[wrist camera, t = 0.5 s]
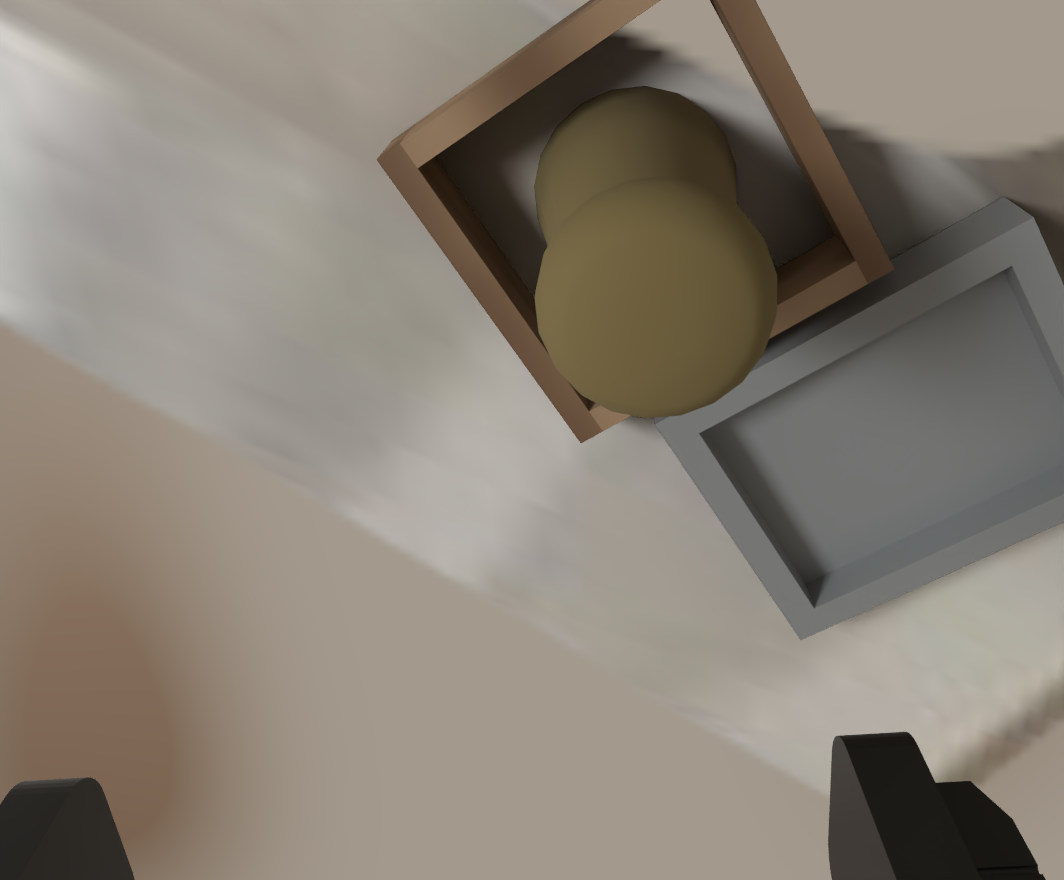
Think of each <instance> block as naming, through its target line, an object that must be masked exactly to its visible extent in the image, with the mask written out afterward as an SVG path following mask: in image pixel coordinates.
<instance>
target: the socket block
mask: <svg viewBox="0 0 1064 880" xmlns="http://www.w3.org/2000/svg"><path fill="white" fill-rule="evenodd" d="M659 1H660V0H590V1H588V2H587V3H586V4H584V5H583V6H581V7H580V8H578V9H577V10H576V11H574V12H573V13H571V14H570V15H569V16H567V17H566V18H564V19H563V20H562V21H560V22H559V23H557V24H556V25H555V26H553V27H552V28H550V29H549V30H547V31H546V32H545V33H543V34H542V35H540V36H539V37H538V38H536V39H535V40H533V41H532V42H531V43H529V44H528V45H526V46H525V47H524V48H522V49H521V50H519V51H518V52H516V53H515V54H514V55H512V56H511V57H509V58H508V59H507V60H505V61H504V62H502V63H501V64H500V65H498V66H497V67H495V68H494V69H492V70H491V71H490V72H488V73H487V74H485V75H484V76H483V77H481V78H480V79H478V80H477V81H476V82H474V83H473V84H471V85H470V86H469V87H467V88H466V89H464V90H463V91H461V92H460V93H459V94H457V95H456V96H454V97H453V98H452V99H450V100H449V101H447V102H446V103H445V104H443V105H442V106H440V107H439V108H438V109H436V110H435V111H433V112H432V113H430V114H429V115H428V116H426V117H425V118H423V119H422V120H421V121H419V122H418V123H416V124H415V125H414V126H412V127H411V128H409V129H408V130H406V131H405V132H404V133H402V134H401V135H399V136H398V137H397V138H395V139H394V140H392V141H391V143H390V144H389V145H388V146H387V148H386V149H385V150H384V151H383V153H382V154H381V155H380V156H379V157H378V159H377V161H378V162H379V164H380V165H381V167H382V168H383V169H384V171H385V172H386V173H387V175H388V176H389V178H390V179H391V180H392V182H393V183H394V185H395V186H396V187H397V189H398V190H399V191H400V193H401V194H402V196H403V197H404V198H405V200H406V201H407V203H408V204H409V205H410V207H411V208H412V210H413V211H414V212H415V214H416V215H417V216H418V218H419V219H420V221H421V222H422V223H423V225H424V226H425V228H426V229H427V230H428V232H429V233H430V234H431V236H432V237H433V239H434V240H435V241H436V243H437V244H438V246H439V247H440V248H441V250H442V251H443V253H444V254H445V255H446V257H447V258H448V259H449V261H450V262H451V264H452V265H453V266H454V268H455V269H456V271H457V272H458V273H459V275H460V276H461V277H462V279H463V280H464V282H465V283H466V284H467V286H468V287H469V289H470V290H471V291H472V293H473V294H474V296H475V297H476V298H477V300H478V301H479V302H480V304H481V305H482V307H483V308H484V309H485V311H486V312H487V314H488V315H489V316H490V318H491V319H492V321H493V322H494V323H495V325H496V326H497V327H498V329H499V330H500V332H501V333H502V334H503V336H504V337H505V339H506V340H507V341H508V343H509V344H510V345H511V347H512V348H513V350H514V351H515V352H516V354H517V355H518V357H519V358H520V359H521V361H522V362H523V364H524V365H525V366H526V368H527V369H528V370H529V372H530V373H531V375H532V376H533V377H534V379H535V380H536V382H537V383H538V384H539V386H540V387H541V388H542V390H543V391H544V393H545V394H546V395H547V397H548V398H549V400H550V401H551V402H552V404H553V405H554V407H555V408H556V409H557V411H558V412H559V413H560V415H561V416H562V418H563V419H564V420H565V422H566V423H567V425H568V426H569V427H570V429H571V430H572V432H573V433H574V434H575V436H576V437H577V438H578V440H579V441H580V443H583V442H584V441H586V440H588V439H590V438H592V437H593V436H595V435H597V434H599V433H601V432H602V431H604V430H606V429H608V428H610V427H611V426H613V425H615V424H617V423H619V422H620V421H622V420H624V419H626V418H628V417H629V416H631V415H627V414H622V413H617V412H612V411H610V410H608V409H606V408H604V407H602V406H601V405H599V404H597V403H595V402H593V401H591V400H589V399H588V398H586V397H584V396H582V395H581V394H580V393H579V392H578V391H577V390H576V389H575V388H574V387H573V386H572V385H571V384H570V383H569V382H568V381H567V380H566V379H565V378H564V377H563V376H562V375H561V374H560V373H559V372H558V370H557V368H556V367H555V365H554V364H553V361H552V359H551V357H550V355H549V353H548V351H547V349H546V347H545V345H544V343H543V341H542V339H541V336H540V334H539V332H538V323H537V314H536V306H535V299H534V298H533V296H532V295H531V294H530V292H529V291H528V289H527V288H526V286H525V285H524V283H523V282H522V281H521V279H520V278H519V276H518V275H517V273H516V272H515V270H514V269H513V268H512V266H511V265H510V263H509V262H508V260H507V259H506V258H505V256H504V255H503V253H502V252H501V250H500V249H499V247H498V246H497V245H496V243H495V242H494V240H493V239H492V237H491V236H490V234H489V233H488V232H487V230H486V229H485V227H484V226H483V224H482V223H481V221H480V220H479V219H478V217H477V216H476V214H475V213H474V211H473V210H472V209H471V207H470V206H469V204H468V203H467V201H466V200H465V198H464V197H463V196H462V194H461V193H460V191H459V190H458V188H457V187H456V185H455V184H454V183H453V181H452V180H451V178H450V177H449V175H448V174H447V172H446V171H445V170H444V168H443V167H442V165H441V164H440V162H439V161H438V160H437V158H436V157H435V156H436V155H438V154H439V153H440V152H442V151H443V150H445V149H446V148H448V147H449V146H451V145H452V144H453V143H455V142H456V141H458V140H459V139H461V138H462V137H464V136H465V135H466V134H468V133H469V132H471V131H472V130H474V129H475V128H477V127H478V126H479V125H481V124H482V123H484V122H485V121H487V120H488V119H490V118H491V117H492V116H494V115H495V114H497V113H498V112H500V111H501V110H503V109H504V108H505V107H507V106H508V105H510V104H511V103H513V102H514V101H516V100H517V99H518V98H520V97H521V96H523V95H524V94H526V93H527V92H529V91H530V90H531V89H533V88H534V87H536V86H537V85H539V84H540V83H542V82H543V81H544V80H546V79H547V78H549V77H550V76H552V75H553V74H555V73H556V72H557V71H559V70H560V69H562V68H563V67H565V66H566V65H568V64H569V63H570V62H572V61H573V60H575V59H576V58H578V57H579V56H581V55H582V54H583V53H585V52H586V51H588V50H589V49H591V48H592V47H594V46H595V45H596V44H598V43H599V42H601V41H602V40H604V39H605V38H607V37H608V36H610V35H611V34H612V33H614V32H615V31H617V30H618V29H620V28H621V27H623V26H624V25H625V24H627V23H628V22H630V21H631V20H633V19H634V18H636V17H637V16H638V15H640V14H641V13H643V12H644V11H646V10H647V9H648V8H650V7H651V6H653V5H654V4H656V3H657V2H659ZM710 1H711V3H712V5H713V7H714V9H715V11H716V12H717V14H718V16H719V18H720V20H721V22H722V24H723V25H724V27H725V29H726V31H727V33H728V35H729V37H730V38H731V40H732V42H733V44H734V46H735V48H736V49H737V51H738V53H739V55H740V57H741V59H742V61H743V63H744V65H745V66H746V68H747V70H748V72H749V74H750V76H751V78H752V79H753V81H754V83H755V85H756V87H757V89H758V91H759V93H760V94H761V96H762V98H763V100H764V102H765V104H766V106H767V108H768V109H769V111H770V113H771V115H772V117H773V119H774V121H775V122H776V124H777V126H778V128H779V130H780V132H781V134H782V136H783V137H784V139H785V141H786V143H787V145H788V147H789V149H790V150H791V152H792V154H793V156H794V158H795V160H796V162H797V164H798V165H799V167H800V169H801V171H802V173H803V175H804V177H805V178H806V180H807V182H808V184H809V186H810V188H811V190H812V191H813V193H814V195H815V197H816V199H817V201H818V203H819V205H820V206H821V208H822V210H823V212H824V214H825V216H826V218H827V219H828V221H829V223H830V225H831V227H832V229H833V231H834V233H835V234H836V235H835V236H833V237H832V238H830V239H828V240H826V241H825V242H823V243H821V244H819V245H818V246H816V247H814V248H812V249H811V250H809V251H807V252H806V253H804V254H802V255H800V256H799V257H797V258H795V259H793V260H792V261H790V262H788V263H786V264H785V265H783V266H781V267H780V268H778V269H776V273H777V314H776V319H775V323H774V326H773V329H772V331H771V334H770V337H769V339H770V338H772V337H774V336H775V335H777V334H779V333H781V332H783V331H784V330H786V329H788V328H790V327H792V326H793V325H795V324H797V323H799V322H801V321H802V320H804V319H806V318H808V317H810V316H811V315H813V314H815V313H817V312H819V311H820V310H822V309H824V308H826V307H828V306H829V305H831V304H833V303H835V302H837V301H838V300H840V299H842V298H844V297H846V296H847V295H849V294H851V293H853V292H855V291H856V290H858V289H860V288H862V287H864V286H865V285H867V284H869V283H871V282H873V281H874V280H876V279H878V278H880V277H882V276H883V275H885V274H887V273H889V272H891V271H892V270H894V267H893V265H892V263H891V261H890V259H889V257H888V256H887V254H886V252H885V250H884V248H883V246H882V244H881V242H880V240H879V238H878V236H877V234H876V232H875V230H874V228H873V227H872V225H871V223H870V221H869V219H868V217H867V215H866V213H865V211H864V209H863V207H862V205H861V203H860V201H859V199H858V198H857V196H856V194H855V192H854V190H853V188H852V186H851V184H850V182H849V180H848V178H847V176H846V174H845V172H844V170H843V169H842V167H841V165H840V163H839V161H838V159H837V157H836V155H835V153H834V151H833V149H832V147H831V145H830V143H829V141H828V140H827V138H826V136H825V134H824V132H823V130H822V128H821V126H820V124H819V122H818V120H817V118H816V116H815V114H814V113H813V111H812V109H811V107H810V105H809V103H808V101H807V99H806V97H805V95H804V93H803V91H802V89H801V87H800V85H799V84H798V82H797V80H796V78H795V76H794V74H793V72H792V70H791V68H790V66H789V64H788V62H787V60H786V58H785V56H784V55H783V53H782V51H781V49H780V47H779V45H778V43H777V41H776V39H775V37H774V35H773V33H772V31H771V30H770V28H769V26H768V24H767V22H766V20H765V18H764V16H763V14H762V12H761V10H760V8H759V6H758V4H757V2H756V0H710Z"/></svg>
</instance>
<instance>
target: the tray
mask: <svg viewBox="0 0 1064 880" xmlns="http://www.w3.org/2000/svg"><path fill="white" fill-rule="evenodd" d="M890 261H891V263H892V265H893V267H894V270H892V271H891V272H889V273H887V274H885V275H883V276H882V277H880V278H878V279H876V280H874V281H873V282H871V283H869V284H867V285H865V286H864V287H862V288H860V289H858V290H856V291H855V292H853V293H851V294H849V295H847V296H846V297H844V298H842V299H840V300H838V301H837V302H835V303H833V304H831V305H829V306H828V307H826V308H824V309H822V310H820V311H819V312H817V313H815V314H813V315H811V316H810V317H808V318H806V319H804V320H802V321H801V322H799V323H797V324H795V325H793V326H792V327H790V328H788V329H786V330H784V331H783V332H781V333H779V334H777V335H775V336H774V337H772V338H770V339H769V340H768V343H767V346H766V349H765V352H764V354H763V355H762V357H761V358H760V359H759V361H758V362H757V363H756V365H755V366H754V367H753V369H752V370H751V371H750V373H749V374H748V376H747V377H746V378H745V380H744V381H743V382H742V383H741V384H739V385H738V386H737V387H735V388H734V389H733V390H731V391H730V392H728V393H727V394H726V395H724V396H723V397H722V398H720V399H719V400H718V401H716V402H715V403H713V404H710V405H708V406H705V407H702V408H700V409H697V410H694V411H692V412H689V413H686V414H684V415H681V416H669V417H656V418H654V423H655V426H656V427H657V429H658V430H659V432H660V433H661V435H662V436H663V438H664V439H665V441H666V442H667V443H668V445H669V446H670V448H671V449H672V451H673V452H674V454H675V455H676V457H677V458H678V460H679V461H680V463H681V464H682V466H683V467H684V469H685V470H686V472H687V473H688V474H689V476H690V477H691V479H692V480H693V482H694V483H695V485H696V486H697V488H698V489H699V491H700V492H701V494H702V495H703V497H704V498H705V500H706V501H707V503H708V504H709V505H710V507H711V508H712V510H713V511H714V513H715V514H716V516H717V517H718V519H719V520H720V522H721V523H722V525H723V526H724V528H725V529H726V531H727V532H728V534H729V535H730V536H731V538H732V539H733V541H734V542H735V544H736V545H737V547H738V548H739V550H740V551H741V553H742V554H743V556H744V557H745V559H746V560H747V562H748V563H749V565H750V566H751V567H752V569H753V570H754V572H755V573H756V575H757V576H758V578H759V579H760V581H761V582H762V584H763V585H764V587H765V588H766V590H767V591H768V593H769V594H770V596H771V597H772V599H773V600H774V601H775V603H776V604H777V606H778V607H779V609H780V610H781V612H782V613H783V615H784V616H785V618H786V619H787V621H788V622H789V624H790V625H791V627H792V628H793V630H794V631H795V632H796V634H797V635H798V637H799V638H800V640H802V639H805V638H807V637H809V636H811V635H813V634H816V633H818V632H820V631H822V630H825V629H827V628H829V627H831V626H833V625H836V624H838V623H840V622H842V621H845V620H847V619H849V618H851V617H853V616H856V615H858V614H860V613H862V612H864V611H867V610H869V609H871V608H873V607H876V606H878V605H880V604H882V603H884V602H887V601H889V600H891V599H893V598H896V597H898V596H900V595H902V594H904V593H907V592H909V591H911V590H913V589H916V588H918V587H920V586H922V585H924V584H927V583H929V582H931V581H933V580H935V579H938V578H940V577H942V576H944V575H947V574H949V573H951V572H953V571H955V570H958V569H960V568H962V567H964V566H967V565H969V564H971V563H973V562H975V561H978V560H980V559H982V558H984V557H987V556H989V555H991V554H993V553H995V552H998V551H1000V550H1002V549H1004V548H1006V547H1009V546H1011V545H1013V544H1015V543H1018V542H1020V541H1022V540H1024V539H1026V538H1029V537H1031V536H1033V535H1035V534H1038V533H1040V532H1042V531H1044V530H1046V529H1049V528H1051V527H1053V526H1055V525H1058V524H1060V523H1062V522H1064V285H1063V282H1062V280H1061V278H1060V276H1059V273H1058V271H1057V269H1056V267H1055V264H1054V262H1053V260H1052V258H1051V255H1050V253H1049V251H1048V248H1047V246H1046V244H1045V242H1044V239H1043V237H1042V235H1041V233H1040V230H1039V228H1038V226H1037V224H1036V221H1035V219H1034V217H1033V216H1031V215H1030V214H1028V213H1027V212H1025V211H1024V210H1023V209H1021V208H1020V207H1018V206H1017V205H1015V204H1014V203H1012V202H1011V201H1010V200H1008V199H1007V198H1005V197H1002V198H1000V199H999V200H997V201H995V202H993V203H991V204H990V205H988V206H986V207H984V208H983V209H981V210H979V211H977V212H975V213H974V214H972V215H970V216H968V217H966V218H965V219H963V220H961V221H959V222H957V223H956V224H954V225H952V226H950V227H949V228H947V229H945V230H943V231H941V232H940V233H938V234H936V235H934V236H932V237H931V238H929V239H927V240H925V241H923V242H922V243H920V244H918V245H916V246H915V247H913V248H911V249H909V250H907V251H906V252H904V253H902V254H900V255H898V256H897V257H895V258H893V259H891V260H890Z"/></svg>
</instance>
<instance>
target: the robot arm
mask: <svg viewBox="0 0 1064 880" xmlns="http://www.w3.org/2000/svg"><path fill="white" fill-rule="evenodd" d="M828 842H829V843H828V847H829V861H830V869H831V876H832V880H1046V879H1045V878H1044V876H1043V874H1039V871H1038V865H1037V863H1036V861H1035V860H1034V858H1033V856H1032V854H1031V852H1030V850H1029V848H1028V847H1027V845H1026V843H1025V841H1024V839H1023V837H1022V836H1021V834H1020V832H1019V830H1018V828H1017V827H1016V825H1015V823H1014V821H1013V819H1012V818H1010V816H1008V815H1007V814H1006V813H1005V812H1004V811H1003V810H1002V809H1001V808H999V807H998V806H997V805H996V804H995V803H994V802H993V801H992V800H991V799H989V798H988V797H987V796H986V795H985V794H984V793H983V792H982V791H981V790H979V789H978V788H977V787H976V786H975V785H974V784H973V783H972V782H971V781H961V782H943V783H935V781H934V779H933V777H932V775H931V773H930V770H929V768H928V766H927V764H926V762H925V760H924V758H923V756H922V754H921V752H920V750H919V747H918V745H917V743H916V742H915V740H914V738H913V737H912V736H911V735H910V734H909V733H908V732H896V733H879V734H862V735H845V736H836V737H835V738H834V741H833V746H832V764H831V788H830V813H829V837H828ZM0 880H134V876H133V872H132V869H131V867H130V864H129V861H128V858H127V856H126V853H125V850H124V847H123V845H122V842H121V839H120V836H119V833H118V830H117V828H116V825H115V822H114V819H113V817H112V814H111V811H110V808H109V805H108V803H107V800H106V797H105V794H104V792H103V790H102V787H101V786H100V784H99V783H98V782H97V781H96V780H95V779H93V778H71V779H55V780H38V781H24V782H21V783H19V784H17V785H15V786H14V787H13V788H12V789H11V790H10V792H9V793H8V794H7V796H6V797H5V798H4V800H3V801H2V803H1V804H0Z"/></svg>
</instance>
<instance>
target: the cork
mask: <svg viewBox="0 0 1064 880" xmlns="http://www.w3.org/2000/svg"><path fill="white" fill-rule="evenodd" d="M534 189H535V198H536V207H537V216H538V220H539V223H540V226H541V228H542V231H543V234H544V237H545V240H546V243H547V246H548V247H547V248H546V250H545V252H544V254H543V259H542V263H541V268H540V272H539V277H538V282H537V286H536V292H535V306H536V314H537V323H538V332H539V334H540V336H541V339H542V341H543V343H544V345H545V347H546V349H547V351H548V353H549V355H550V357H551V359H552V361H553V364H554V365H555V367H556V368H557V370H558V372H559V373H560V374H561V375H562V376H563V377H564V378H565V379H566V380H567V381H568V382H569V383H570V384H571V385H572V386H573V387H574V388H575V389H576V390H577V391H578V392H579V393H580V394H581V395H582V396H584V397H586V398H588V399H589V400H591V401H593V402H595V403H597V404H599V405H601V406H602V407H604V408H606V409H608V410H610V411H612V412H617V413H622V414H627V415H632V416H636V417H641V418H656V417H669V416H681V415H684V414H686V413H689V412H692V411H694V410H697V409H700V408H702V407H705V406H708V405H710V404H713V403H715V402H716V401H718V400H719V399H720V398H722V397H723V396H724V395H726V394H727V393H728V392H730V391H731V390H733V389H734V388H735V387H737V386H738V385H739V384H741V383H742V382H743V381H744V380H745V378H746V377H747V376H748V374H749V373H750V371H751V370H752V369H753V367H754V366H755V365H756V363H757V362H758V361H759V359H760V358H761V357H762V355H763V354H764V352H765V349H766V346H767V343H768V340H769V337H770V334H771V331H772V329H773V326H774V323H775V319H776V314H777V273H776V270H775V268H774V265H773V262H772V259H771V256H770V253H769V251H768V248H767V245H766V242H765V240H764V238H763V237H762V235H761V233H760V232H759V231H758V229H757V228H756V227H755V226H754V225H753V223H752V222H751V221H750V220H749V218H748V217H747V216H746V215H745V214H744V212H743V211H742V210H741V209H740V207H739V206H738V205H737V189H736V165H735V162H734V159H733V156H732V153H731V151H730V148H729V145H728V142H727V139H726V137H725V135H724V134H723V132H722V131H721V130H720V129H719V127H718V126H717V125H716V124H715V122H714V121H713V120H712V119H711V117H710V116H709V115H708V114H707V112H706V111H705V110H703V109H702V108H700V107H698V106H697V105H695V104H694V103H692V102H690V101H689V100H687V99H686V98H684V97H682V96H681V95H679V94H678V93H674V92H669V91H665V90H660V89H656V88H651V87H647V86H642V87H633V88H624V89H615V90H610V91H608V92H606V93H604V94H602V95H600V96H597V97H595V98H593V99H591V100H589V101H586V102H584V103H582V104H581V105H580V106H578V107H577V108H576V109H575V110H574V111H573V112H572V113H571V114H570V115H569V116H568V117H567V118H565V119H564V120H563V121H562V122H561V123H560V124H559V125H558V126H557V127H556V129H555V131H554V132H553V134H552V136H551V138H550V139H549V141H548V143H547V145H546V147H545V148H544V150H543V152H542V154H541V156H540V161H539V166H538V171H537V176H536V180H535V185H534Z"/></svg>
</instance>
